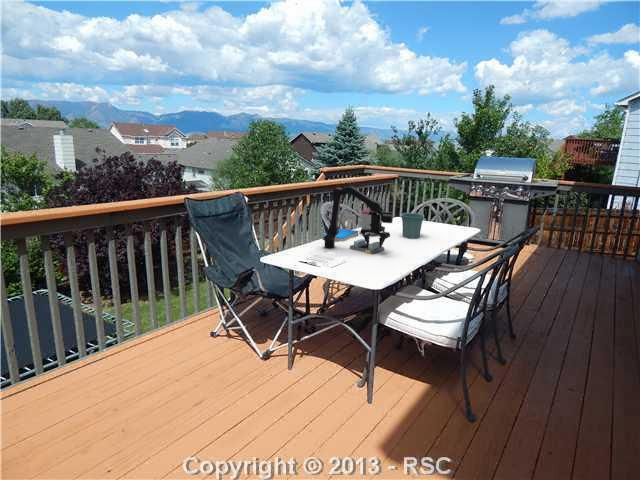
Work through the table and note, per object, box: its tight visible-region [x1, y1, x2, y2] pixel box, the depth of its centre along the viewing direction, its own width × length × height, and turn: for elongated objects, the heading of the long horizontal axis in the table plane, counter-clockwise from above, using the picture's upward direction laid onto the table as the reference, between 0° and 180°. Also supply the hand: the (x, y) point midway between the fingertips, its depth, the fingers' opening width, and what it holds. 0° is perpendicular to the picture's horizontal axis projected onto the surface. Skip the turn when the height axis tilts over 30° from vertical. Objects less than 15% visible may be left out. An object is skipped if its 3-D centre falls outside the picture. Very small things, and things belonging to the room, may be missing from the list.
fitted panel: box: [353, 238, 366, 247], centre depth 262 cm, size 9×3×5 cm, turn 139°
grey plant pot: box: [359, 208, 383, 237], centre depth 301 cm, size 18×18×21 cm
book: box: [321, 228, 359, 243], centre depth 293 cm, size 17×4×25 cm
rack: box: [349, 243, 385, 255], centre depth 259 cm, size 13×19×3 cm
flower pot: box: [400, 212, 425, 239], centre depth 296 cm, size 16×16×16 cm
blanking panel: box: [368, 241, 380, 250], centre depth 255 cm, size 9×3×5 cm, turn 139°
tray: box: [298, 252, 346, 268], centre depth 239 cm, size 20×28×4 cm
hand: (374, 246), depth 255 cm, fingers open, 9 cm apart
